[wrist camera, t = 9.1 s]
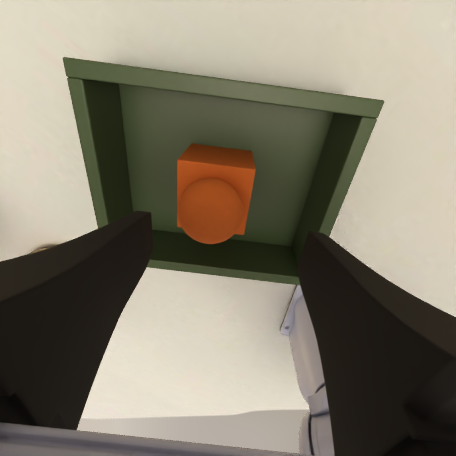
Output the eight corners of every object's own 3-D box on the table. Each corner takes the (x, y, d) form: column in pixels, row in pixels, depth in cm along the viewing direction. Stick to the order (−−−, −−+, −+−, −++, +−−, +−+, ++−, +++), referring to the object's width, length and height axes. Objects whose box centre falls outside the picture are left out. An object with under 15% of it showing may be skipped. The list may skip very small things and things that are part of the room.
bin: (296, 249, 22) (308, 286, 18) (130, 229, 22) (104, 262, 18) (347, 96, 15) (385, 100, 11) (110, 64, 15) (61, 56, 11)
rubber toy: (243, 205, 19) (244, 268, 12) (189, 199, 19) (162, 258, 12) (252, 151, 17) (260, 191, 10) (191, 142, 17) (159, 179, 10)
